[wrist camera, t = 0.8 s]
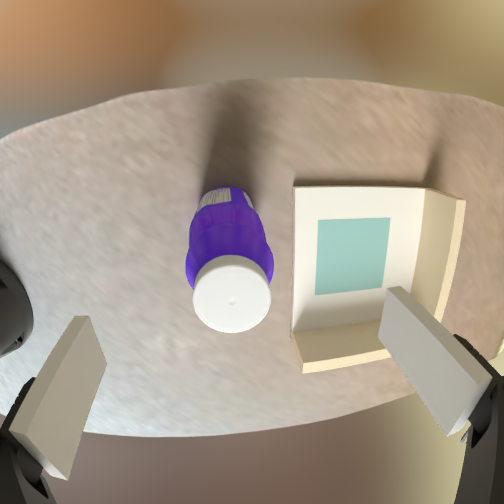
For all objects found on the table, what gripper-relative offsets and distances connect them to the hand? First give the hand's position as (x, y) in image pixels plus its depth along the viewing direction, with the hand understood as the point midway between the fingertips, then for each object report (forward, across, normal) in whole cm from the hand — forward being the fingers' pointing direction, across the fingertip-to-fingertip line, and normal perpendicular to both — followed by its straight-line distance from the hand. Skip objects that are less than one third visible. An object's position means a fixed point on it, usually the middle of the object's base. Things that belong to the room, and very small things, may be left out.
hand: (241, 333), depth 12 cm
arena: (+20, +16, -7) cm, 27 cm away
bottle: (+21, 0, 0) cm, 21 cm away
